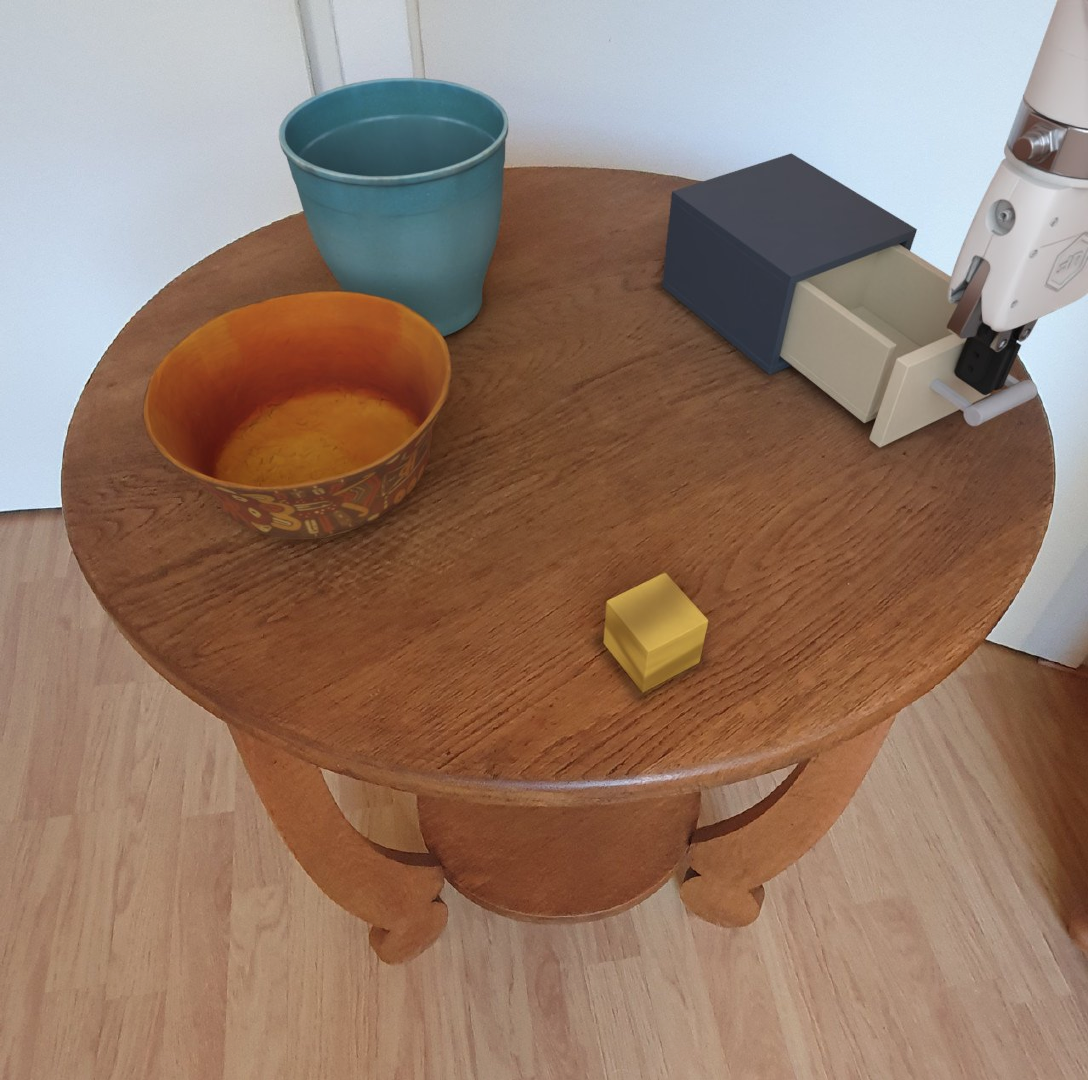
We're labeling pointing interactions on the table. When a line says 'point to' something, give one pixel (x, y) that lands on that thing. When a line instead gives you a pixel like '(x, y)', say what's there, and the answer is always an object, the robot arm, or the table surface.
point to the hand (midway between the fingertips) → (977, 381)
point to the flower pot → (403, 189)
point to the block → (654, 631)
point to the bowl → (302, 409)
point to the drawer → (887, 345)
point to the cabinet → (766, 247)
